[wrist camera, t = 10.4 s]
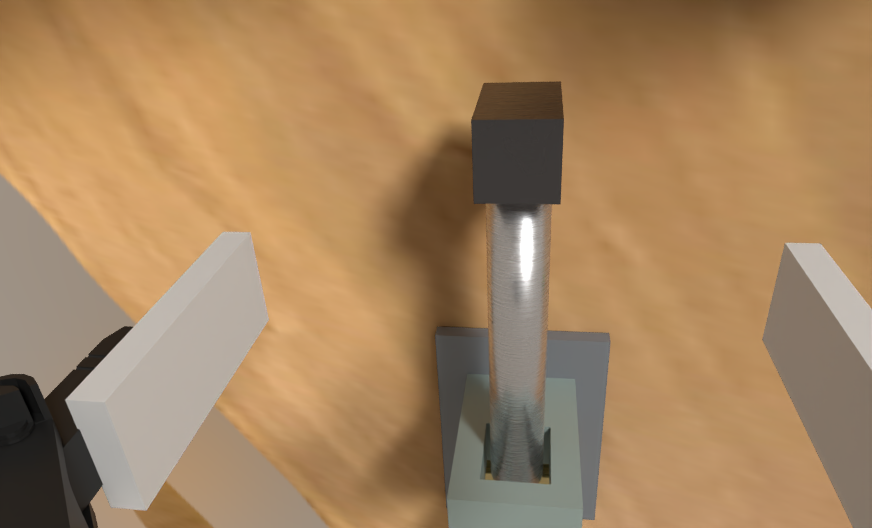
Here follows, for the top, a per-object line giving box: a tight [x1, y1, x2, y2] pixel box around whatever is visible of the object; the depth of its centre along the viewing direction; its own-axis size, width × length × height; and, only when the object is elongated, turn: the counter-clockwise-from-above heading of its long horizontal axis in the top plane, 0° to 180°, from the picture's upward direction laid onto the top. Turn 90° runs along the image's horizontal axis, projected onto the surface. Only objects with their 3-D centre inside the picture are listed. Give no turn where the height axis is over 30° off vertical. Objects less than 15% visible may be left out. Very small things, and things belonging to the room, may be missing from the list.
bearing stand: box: [435, 327, 610, 528], centre depth 41 cm, size 16×11×12 cm
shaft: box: [471, 82, 564, 484], centre depth 34 cm, size 22×4×6 cm, turn 3°
